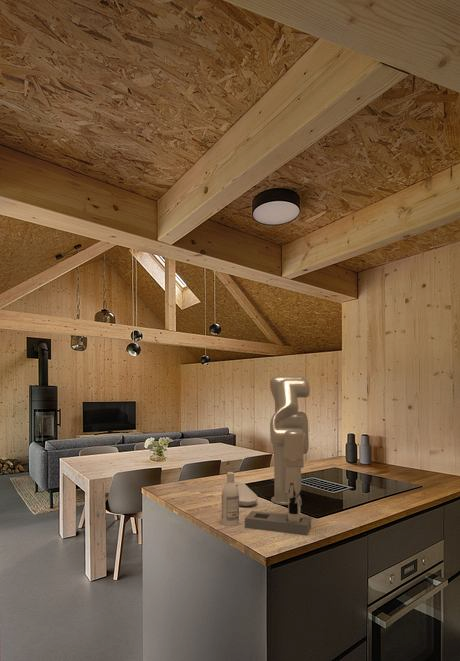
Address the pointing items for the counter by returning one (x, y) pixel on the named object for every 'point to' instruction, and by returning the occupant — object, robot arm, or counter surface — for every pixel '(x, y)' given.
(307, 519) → the socket block
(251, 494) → the spoon rest
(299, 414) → the robot arm
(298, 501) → the plug
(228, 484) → the bath foam
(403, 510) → the counter surface
